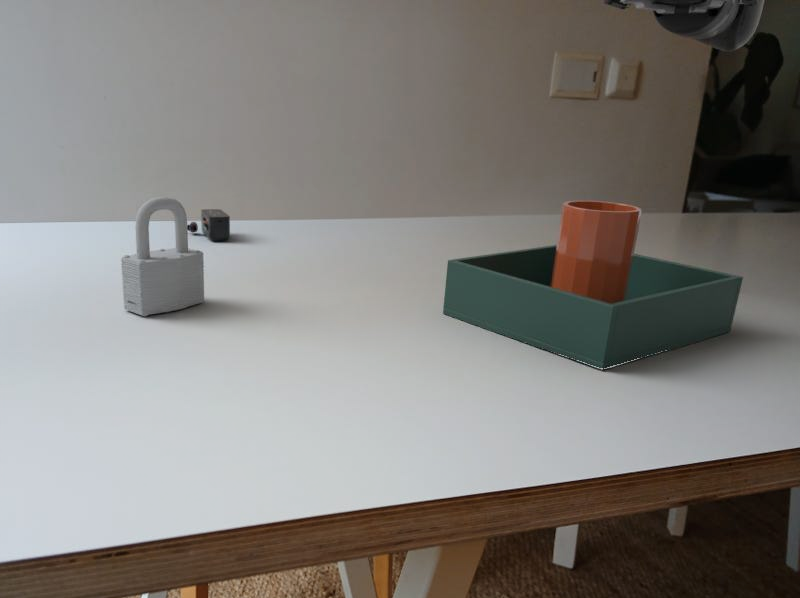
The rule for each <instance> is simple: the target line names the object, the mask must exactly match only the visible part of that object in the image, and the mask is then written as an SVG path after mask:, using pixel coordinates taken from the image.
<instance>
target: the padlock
mask: <svg viewBox="0 0 800 598" xmlns="http://www.w3.org/2000/svg"><path fill="white" fill-rule="evenodd" d="M162 210H166V211H170V212H171V213H172V216H173V220H174V233H175V234H174V238H175V239H174V241H175V247H174V248H173V247H172V248H165V249H164V248H160V249H155V250H151V249H150V220H151V217H152V215H153V214H154V213H155V212H158V211H162ZM187 226H188V217H187V212H186V209H185V208H184V205H183V204H182V202H180V201H178V200H177V199H175V198H173V197H168V196H157V197H153V198H151V199H149V200H147V201H145V202H144V203H143V204H142V205H141V206H140V207H139V209H138V210H137V213H136V216H135V228H134V229H135V246H136V253H134V254H129V255H128V254H126V255H124V256H122V257H121V259H120V263H121V265H120V266H121V277H122V278H121V280H122V295H123V309H124V310H126V311H128V312H132V313H134V314H136V315H140V316H142V317H147V316H148V315H154V314H155V315H156V314H163V313H169V312H174V311H178V310H183V309H186V308H188V307H191V306H194V305H198V304H199V305H201V304H202V303H204V302H205V272H204V271H205V270H204V268H205V267H204V266H205V265H204V262H205V261H204V252H203V251H201V250H199V249H197V250H196V249H193V248H190V247H189V235H188V233H189V231H188V230H187Z"/></svg>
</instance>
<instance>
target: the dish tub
mask: <svg viewBox="0 0 800 598" xmlns="http://www.w3.org/2000/svg"><path fill="white" fill-rule="evenodd" d="M556 247H557V244H552V245H546V246H545V245H544V246H538V247H533V248H532V247H531V248H524V249H517V250H512V251H511V250H509V251H504V252H497V253H490V254H483V255H482V254H481V255H475V256H474V255H473V256H467V257H461V258H453V259H447V267H446V277H445V278H446V279H445V287H444V299H443V310H442V314H443V315H446V316H449V317H452V318H455V319H457V320H460V321H462V320H463V322H466V323H468V324H471V325H474V326H476V325H477V326H476V327H480V328H483V329H485V330H487V329H488V330H489V331H490V332H493V333H496V334H499V335H501V334H502V336H504V335H505V336H504V337H507V336H508V337H507V338H509V339H512V338H513V339H512V340H515V339H516V340H515V341H518V340H519V341H518V342H521V341H523V342H522V343H524V342H526V343H528V344H527V345H529V344H531V345H530V346H532V345H534V346H533V347H535V346H536V347H535V348H537V347H539V348H538V349H540V348H543V349H546V350H548V351H547V352H549V351H552V352H555V353H557V354H561V355H564V356H567V357H569V358H573V359H575V360H579V361H582V362H585V363H587V364H590V365H593V366H596V367H599V368H603V369H604V368H607V367H610V366H613V365H617V364H621V363H624V362H627V361H631V360H634V359H637V358H641V357H645V356H647V355H651V354H655V353H658V352H661V351H665V350H669V349H672V350H674V349H673V348H675V349H678V348H677V347H679V348H681V346H682V347H685V346H688V345H691V344H690V343H692V344H694V342H695V343H697V341H698V342H701V341H705V340H708V339H711V338H714V336H715V337H717V336H721V335H724V334H727V333H731V330H732V326H733V322H734V317H735V313H736V310H737V305H738V300H739V296H740V293H741V292H740V291H741V289H742V284H743V279H744V276H740V275H736V274H733V273H732V274H731V273H726V272H722V271H718V270H713V269H709V268H703V267H699V266H694V265H690V264H685V263H684V264H683V263H680V262H676V261H671V260H665V259H661V258H656V257H651V256H648V255H644V254H643V255H642V254H638V253H634V256H633V261H632V267H631V272H630V278H629V283H628V289H627V294H626V300H625V301H622V302H618V303H613V304H610V303H607V302H603V301H599V300H596V299H592V298H589V297H585V296H582V295H578V294H574V293H571V292H567V291H564V290H560V289H556V288H553V287H551V282H552V275H553V268H554V261H555V254H556ZM704 339H705V340H704ZM700 340H701V341H700ZM526 343H525V344H526ZM687 344H688V345H687ZM684 345H685V346H684ZM543 349H542V350H543ZM546 350H545V351H546ZM669 351H670V350H669ZM665 352H666V351H665ZM557 354H556V355H557Z"/></svg>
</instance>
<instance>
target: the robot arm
mask: <svg viewBox="0 0 800 598" xmlns="http://www.w3.org/2000/svg"><path fill="white" fill-rule="evenodd" d="M603 4H605V5H607V6H611V7H614V8H617V9H619V10H626V9H629V8H630V7H631V5H632V4H634V5H635V8H636V9H637V10H642V11H643V10H644V11H652V13H653V16H654V18H655V20H656V21H657V23H658V25H660V26H661V27H662V28H663V29H665V31H668V32H670V33H672V34H674V35H676V36H679V37H683V38H687V39H691V40H693V41H697V42H699V43H701V44H704V45H707V46H709V47H711V48H714V49H716V50H719V51H723V52H733V51H737V50H738V49H740V48H741V47H743V46H745V44H747V43H748V42H749V41H750V39H752V37H753V35H754V33H755V32H756V30H757V28H758V25H759V24H760V23H759V22H760V20H761V16H762V13H763V8H764V6H765V5H764V4H765V0H603Z"/></svg>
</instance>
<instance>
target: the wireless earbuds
mask: <svg viewBox="0 0 800 598" xmlns="http://www.w3.org/2000/svg"><path fill="white" fill-rule="evenodd" d="M200 220H201V221H200V224H201V231H202V234H203V235H205V237H207V238H208V239H209V240H210V241H211V242H227V241H229V240H230V238H231V226H230V225H231V217H230V215H229V214H228V213H226V212H225V211H224V210H222V209H219V208H208V209H207V208H206V209H205V208H204V209H201V210H200ZM187 230H188V232H190V233H197V232H198V230H199V225H198V223H197V222H195V221H191V222H190V224H187Z"/></svg>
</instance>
